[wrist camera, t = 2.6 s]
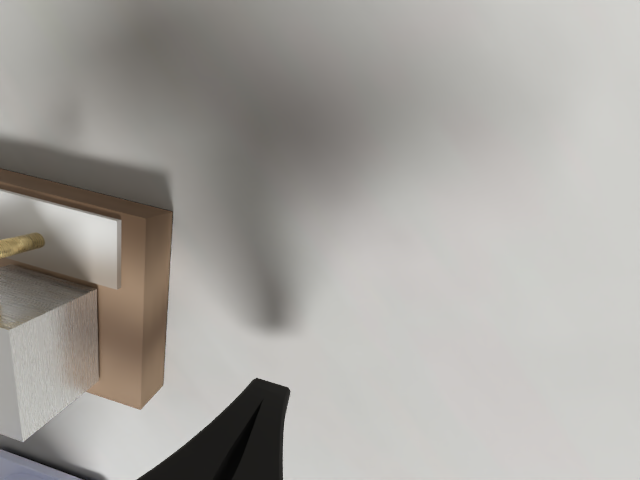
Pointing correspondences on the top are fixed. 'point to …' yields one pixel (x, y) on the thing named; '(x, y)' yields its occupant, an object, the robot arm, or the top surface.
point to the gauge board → (101, 271)
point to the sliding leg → (42, 342)
